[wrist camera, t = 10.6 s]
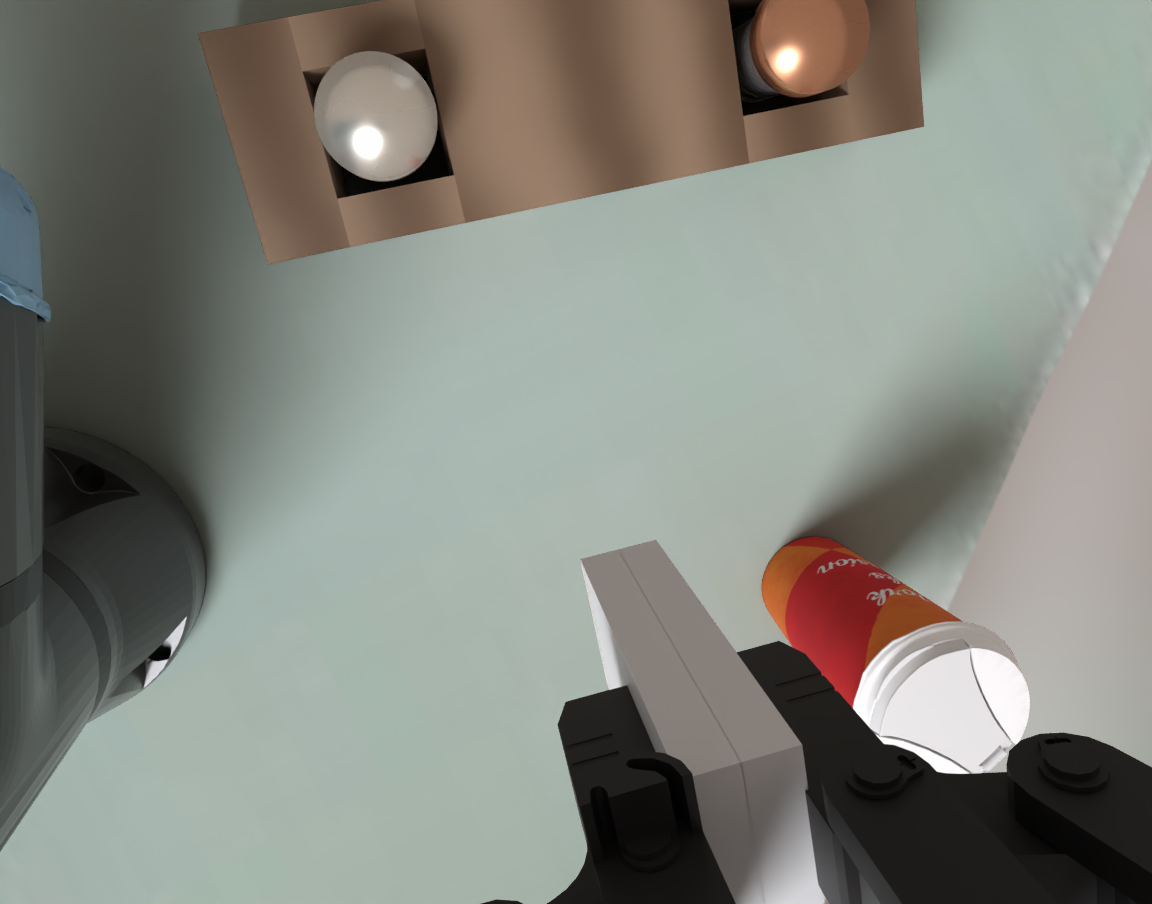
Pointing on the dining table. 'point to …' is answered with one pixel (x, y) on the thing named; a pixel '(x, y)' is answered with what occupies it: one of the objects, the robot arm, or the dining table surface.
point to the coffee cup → (899, 656)
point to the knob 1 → (376, 116)
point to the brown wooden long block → (529, 106)
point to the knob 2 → (799, 47)
